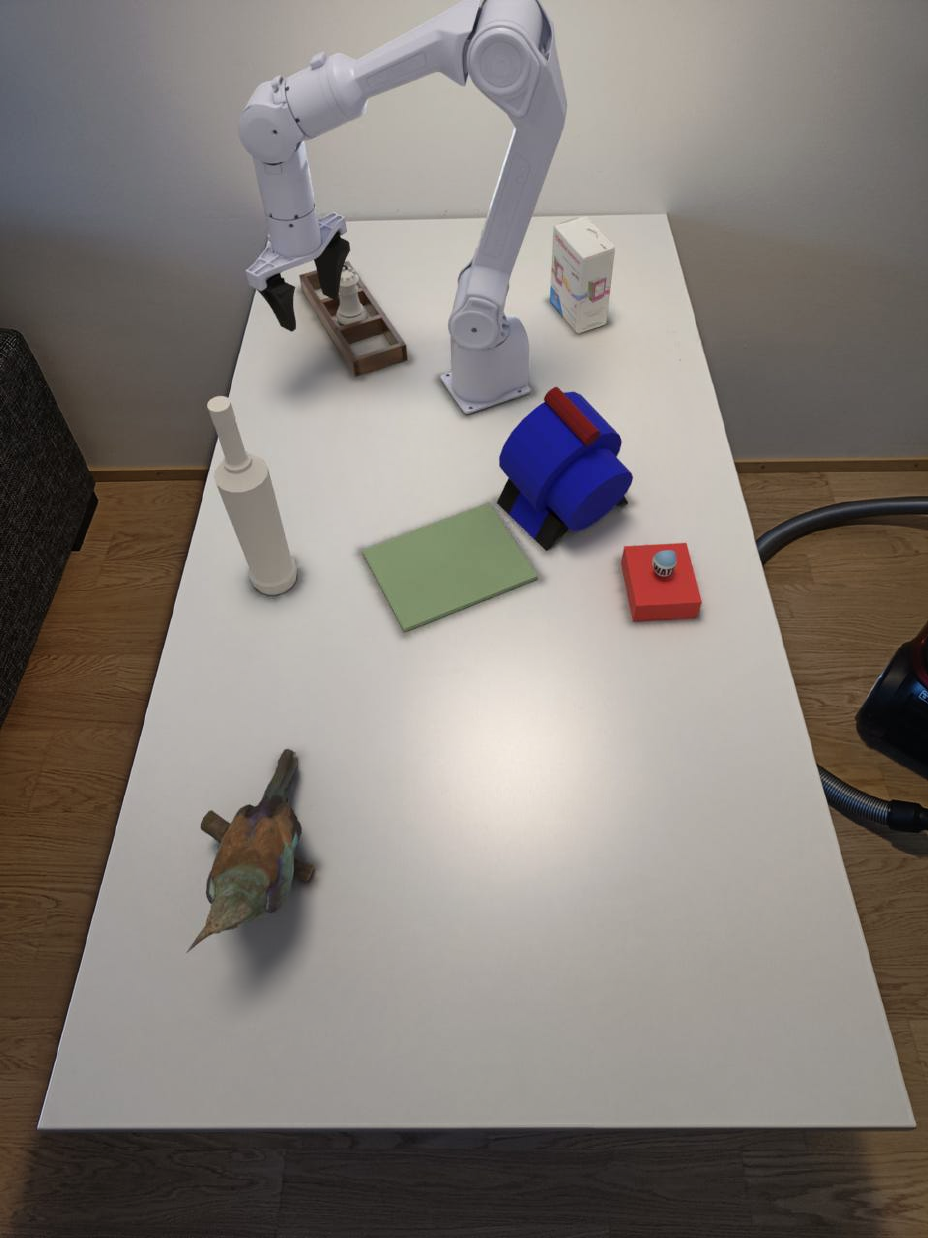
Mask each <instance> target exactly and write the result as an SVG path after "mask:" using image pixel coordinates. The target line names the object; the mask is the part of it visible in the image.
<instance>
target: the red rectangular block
mask: <svg viewBox="0 0 928 1238" xmlns="http://www.w3.org/2000/svg"><path fill="white" fill-rule="evenodd" d="M620 564H621V570H622V574H623V579H624V584H625V585H624V586H625V590H626V595H627V599H628V605H629V610H630V614H631V620H632V622H647V621H664V620H666V621H667V620H682V619H697V618H698V616H699V612H700V609H701V606H702V603H703V601H702V597H701V594H700V593H701V592H700V590H699V585H698V581H697V578H696V574H695V571H694V566H693V563H692V558H691V554H690V551H689V546H688V543H687V542H677V543H675V542H674V543H660V544H659V543H658V544H657V543H656V544H640V545H639V544H638V545H624V546H623V550H622V555H621V561H620Z"/></svg>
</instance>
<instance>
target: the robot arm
mask: <svg viewBox="0 0 928 1238" xmlns="http://www.w3.org/2000/svg"><path fill="white" fill-rule="evenodd" d="M555 35H556V34H555V26H554V22H553V20H552V19H551V17H550V15H549V14H548V12H547V10H546V8H545V7H544V5H543V3H542V2H541V0H461V1H459V2H458V3H456V4H455V5H453V6H451V7H450V8H448V9H446V10H445V11H443V12H440V13H439V14H438V15H435V16H434V17H432V18H430V19H429V20H427V21H425V22H423V23H421V24H420V25H418V26H416V27H414V28H412V29H410V30H409V31H407V32H404V33H403V34H401V35H399V36H398V37H395V38H394V39H392V40H391V41H388V42H386V43H384V44H383V45H381V46H379V47H377V48H375V49H373V50H372V51H370V52H369V53H366V54H365V55H363V56H362V57H359V58H358V59H356V58H355V59H354V58H353V57H351V56H348V55H346V54H344V53H340V52H337V53H334V54H332V55H330V56H328V57H327V55H326V53H325V52H324V51H321V52H319V53H317V54H315V55H313V56H312V58H311V60H310V62H309V66H308V67H305V68H304V69H301V70H298V71H297V72H296V73H293V74H291V75H289V76H287V77H285V78H284V76H283V75H282V74H279V75H277V76H275V77H274V78H273V79H272V80H267V81H264V82H262V83H260V84H259V85H257V86H256V87H255V89H254V90H253V92H252V94H251V96H250V98H249V100H248V101H247V103H246V105H245V106H244V109H243V111H242V112H241V114H240V117H239V120H238V123H237V131H238V132H237V133H238V137H239V140H240V142H241V144H242V146H243V147H244V149H245V150H246V152H248V154H249V155H251V156H252V160H253V165H254V171H255V176H256V180H257V184H258V190H259V194H260V195H259V196H260V199H261V204H262V207H263V208H262V209H263V213H264V217H265V222H266V226H267V231H268V233H267V236H266V237H267V240H268V242H269V243H268V244H267V246H266V247H265V248H264V249H263V251H262V252H261V253H260V255H259V256H258V257H257V259H256V260H255V262H254V263H253V264H251V265H250V266H249V267H248V268H246V269H245V274H246V277H247V278H246V279H247V283H248V286H250V287H251V288H253V289H255V290H256V291H257V292H258V293H259V294H260V296H262V298H263V299H264V300H265V302H266V303H267V304H268V306H269V307H270V309H271V311H272V313H273V314H274V315H275V317H276V320H277V322H278V324H279V325H280V327H282V328H283V329H285V330H287V331H289V332H294V331H296V330H297V319H296V314H295V309H294V300H295V299H294V296H295V295H294V294H295V292H296V291H295V290H296V286H295V285H293V284H290V283H289V282H287V281H285V277H282V274H281V273H283V272H286V271H288V270H291V269H293V268H296V267H299V266H301V265H304V264H307V263H310V262H314V265H315V268H316V270H317V273H318V278H319V283H320V287H321V288H320V290H321V292H322V293H321V294H322V295H323V296H325V297H326V298H328V297H329V298H331V299H333V300H336V299H337V298H338V296H339V288H340V280H341V274H342V270H343V266H344V263H345V262H346V260H347V257H348V255H349V253H350V251H351V245H350V241H349V240H347V239H346V238H343V237H341V236H343V235H345V234H347V233H348V228H347V227H348V226H347V221H346V217H345V216H344V215H342V214H340V213H337V212H334V211H332V212H330V213H329V214H326V215H324V216H322V217H318V210H317V205H316V199H315V193H314V188H313V181H312V175H311V170H310V164H309V163H310V162H309V160H308V155H307V149H306V148H307V147H306V143H305V142H306V141H310V140H313V139H315V138H317V137H319V136H321V135H324V134H327V133H329V132H330V131H333V130H335V129H338V128H340V127H342V126H344V125H347V124H348V123H351V122H353V121H355V120H357V119H360V118H362V117H363V116H364V115H365V112H366V111H367V107H368V102H369V99H370V98H373V97H375V96H376V97H377V96H379V95H381V94H383V93H387V92H388V91H391V90H393V89H396V88H399V87H401V86H404V85H407V84H409V83H412V82H414V81H418V80H420V79H423V78H425V77H428V76H430V75H433V74H435V73H441V74H442V75H444V76H445V77H447V78H448V79H449V80H451V81H453V82H454V83H456V84H457V85H458V86H460V87H466V85H467V81H468V78H470V81H471V82H472V83H473V85H474V87H476V89H477V90H478V91H479V92H480V93H481V94H482V95H483V96H485V97H486V98H487V99H488V100H489V101H490V102H492V103H493V104H494V105H495V106H496V107H498V108H499V109H500V110H501V111H502V112H503V113H505V114H506V115H507V117H508V119H509V120H510V122H511V123H512V125H513V131H512V135H511V137H510V141H509V144H508V147H507V149H506V153H505V157H504V160H503V162H502V163H503V164H502V167H501V170H500V173H499V176H498V179H497V182H496V186H495V189H494V192H493V195H492V199H491V202H490V205H489V208H488V211H487V215H486V217H485V221H484V224H483V227H482V230H481V234H480V237H479V240H478V243H477V246H476V247H475V249H474V252H473V255H472V258H471V259H470V260H469V262H467V264H466V265H465V266H463V267H462V269H461V270H460V271H459V274H458V276H457V288H456V292H455V297H454V301H453V305H452V310H451V313H450V315H449V318H448V321H447V330H448V333H449V339H450V364H451V365H450V366H451V371H449V372H446V373H443V374H441V375H440V378H439V379H440V381H441V382H442V384H443V385H444V387H445V388H446V390H447V391H448V392H449V394H450V395H451V397H452V398H453V400H454V401H455V402H456V404H457V405H458V407H459V408H460V409H461V411H462V412H463V413H464V414H465V415H470V414H473V413H476V412H478V411H481V410H485V409H487V408H490V407H493V406H496V405H499V404H502V403H505V402H508V401H511V400H513V399H516V398H519V397H523V396H526V395H528V394H530V393H531V387H530V386H529V370H530V369H529V367H530V342H529V337H528V333H527V330H526V328H525V326H524V324H523V322H522V321H521V319H520V318H518V316H517V315H506V313H505V307H506V301H507V297H508V293H509V290H510V280H511V276H512V273H513V270H514V268H515V265H516V262H517V259H518V256H519V253H520V252H521V251H520V250H521V248H522V245H523V242H524V239H525V236H526V233H527V231H528V228H529V225H530V223H531V220H532V217H533V214H534V211H535V209H536V206H537V204H538V200H539V197H540V195H541V192H542V189H543V186H544V184H545V180H546V179H547V175H548V173H549V171H550V167H551V165H552V161H553V158H554V156H555V153H556V150H557V147H558V145H559V142H560V140H561V137H562V133H563V131H564V128H565V123H566V119H567V118H566V117H567V110H568V100H567V99H568V98H567V94H566V89H565V85H564V81H563V80H564V79H563V75H562V70H561V65H560V60H559V56H558V51H557V46H556V36H555Z"/></svg>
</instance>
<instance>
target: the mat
mask: <svg viewBox="0 0 928 1238" xmlns="http://www.w3.org/2000/svg"><path fill="white" fill-rule="evenodd" d="M361 552H362V556H363V557H364V559H365V561H366V563H367V564H368V566H369V568H370V570H371V572H372V575H373V576H374V578H375V580H376V581H377V584H378V585H379V587H380V589H381V591H382V593H383V594H384V597H385V598H386V601H387V603H388V604H389V606H390V608H391V610H392V613H393V614H394V616H395V618H396V619H397V621H398V623H399V625H400V627H401V629H402V631H403V632H404V633H405V632H408V631H410V630H413V629H415V628H419V627H421V626H423V625H426V624H428V623H431V622H434V621H436V620H438V619H441V618H444V617H446V616H447V615H450V614H454V613H456V612H458V611H461V610H463V609H466V608H468V607H471V606H473V605H476V604H479V603H480V602H483V601H487V600H488V599H492V598H493V597H496V596H499V595H501V594H503V593H506V592H508V591H511V590H514V589H516V588H518V587H521V586H524V585H526V584H528V583H531V582H534V581H536V580H538V579H539V576H538V574H537V572H536V571H535V569H534V568H533V566H532V565H531V563H530V562H529V560H528V559H527V557H526V556H525V554H524V553H523V551H522V550H521V548H520V547H519V545H518V544H517V542H516V541H515V539H514V537H513V536H512V535H511V533H510V532H509V530H508V528H507V527H506V525H505V524H504V523H503V521H502V519H501V518H500V516H499V515H498V513H497V512H496V510H495V509H494V507H493V506H492V504H491V503H490V502H488V503H485V504H483V505H479V506H478V507H474V508H472V509H469V510H466V511H464V512H460V513H459V514H456V515H452V516H450V517H448V518H445V519H442V520H440V521H436V522H434V523H431V524H429V525H426V526H423V527H420V528H418V529H415V530H412V531H409V532H407V533H404V534H401V535H399V536H396V537H393V538H390V539H388V540H385V541H383V542H379V543H377V544H374V545H372V546H369V547H366V548H364V549H362V550H361Z"/></svg>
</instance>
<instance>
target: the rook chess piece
mask: <svg viewBox="0 0 928 1238" xmlns="http://www.w3.org/2000/svg"><path fill="white" fill-rule="evenodd" d="M354 270H355V269H354ZM354 270H352V268H350V267H348V270H345V267H343V270H342V274H341V280H340V288H339V295H340V306H339V308H338V311H337V314H336V315H335V318H336V322H335V324H336V325H337V327H341V326H344V325H347V324H350V323H354V322H357V321H360V320H363V319H367V318H369V317H368V313H367V310H366V307H365V306H362V304H361V303H360V301H359V298H358V294H357V291H358V286H357V285H356V283H357V282H358V279H359V278H358V276H357V275H356V274H355V271H356V270H355V271H354Z"/></svg>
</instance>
